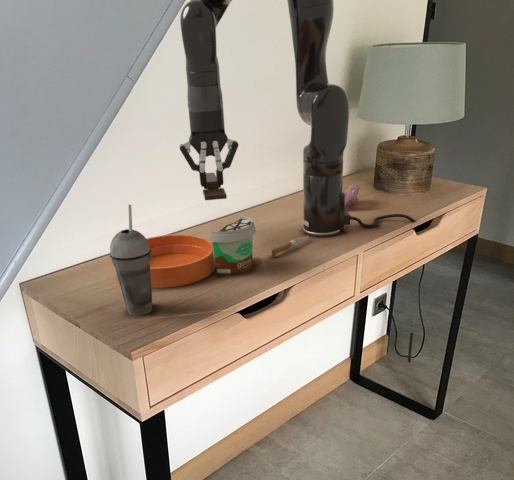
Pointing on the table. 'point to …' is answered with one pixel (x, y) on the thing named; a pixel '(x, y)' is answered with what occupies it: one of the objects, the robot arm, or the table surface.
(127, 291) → the beverage cup
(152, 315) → the table surface
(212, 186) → the dark brown wooden block
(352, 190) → the pink toy figure
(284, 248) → the folding knife
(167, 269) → the bowl
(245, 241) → the food container
